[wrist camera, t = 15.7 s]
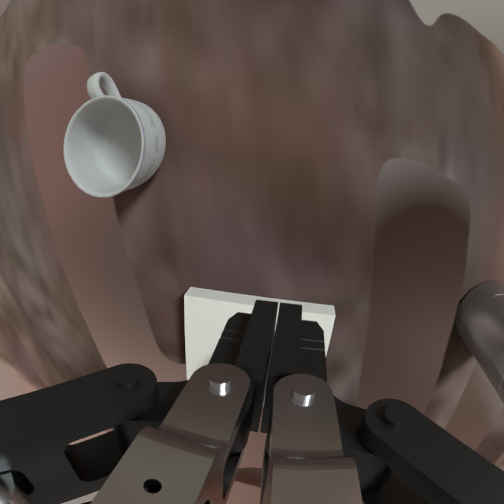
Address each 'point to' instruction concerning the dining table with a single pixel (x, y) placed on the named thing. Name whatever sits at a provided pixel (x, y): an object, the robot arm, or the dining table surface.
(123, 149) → the teacup
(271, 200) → the dining table surface
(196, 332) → the socket plate
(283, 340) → the robot arm
